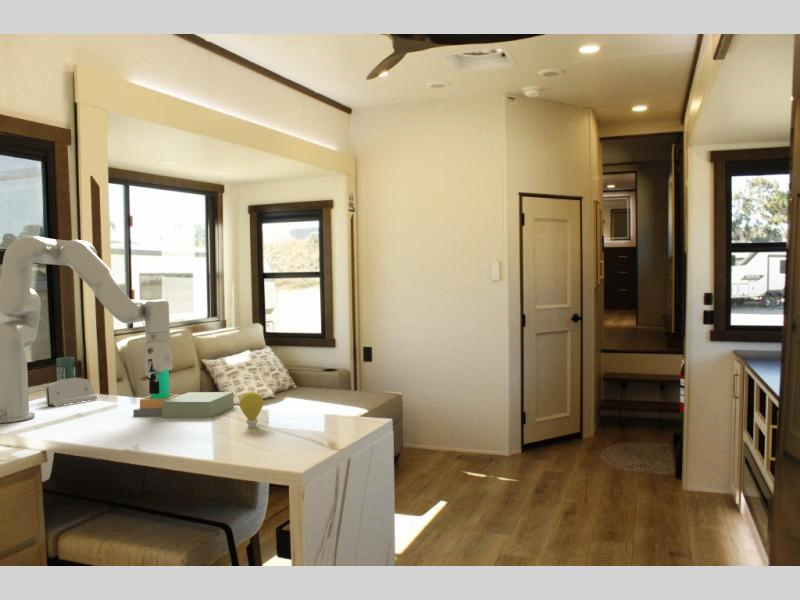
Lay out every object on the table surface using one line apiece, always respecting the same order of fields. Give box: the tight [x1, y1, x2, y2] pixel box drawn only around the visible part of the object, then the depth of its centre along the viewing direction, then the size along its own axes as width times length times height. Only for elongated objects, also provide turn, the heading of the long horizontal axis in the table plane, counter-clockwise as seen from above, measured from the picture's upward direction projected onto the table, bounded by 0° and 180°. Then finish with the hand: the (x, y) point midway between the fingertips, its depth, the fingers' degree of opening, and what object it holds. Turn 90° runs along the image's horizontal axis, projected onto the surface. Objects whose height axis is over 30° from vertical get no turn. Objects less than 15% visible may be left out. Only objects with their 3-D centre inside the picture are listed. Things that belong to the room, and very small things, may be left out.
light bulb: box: [239, 391, 264, 429], centre depth 190 cm, size 7×7×10 cm
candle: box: [149, 369, 170, 399], centre depth 217 cm, size 6×6×12 cm
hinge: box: [45, 377, 98, 407], centre depth 240 cm, size 17×5×10 cm, turn 145°
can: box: [55, 356, 76, 382], centre depth 254 cm, size 6×6×15 cm
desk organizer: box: [133, 391, 234, 419], centre depth 216 cm, size 18×27×5 cm, turn 81°
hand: (159, 391), depth 217 cm, fingers closed on candle, 5 cm apart
